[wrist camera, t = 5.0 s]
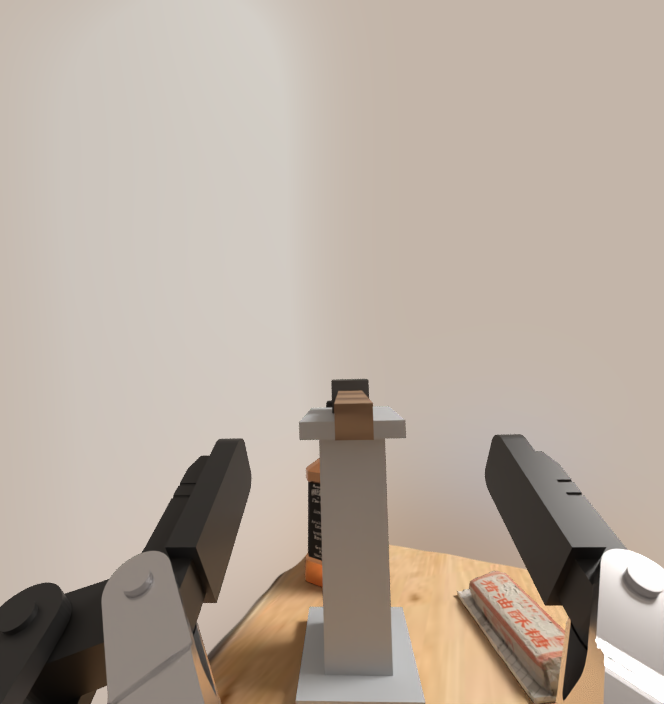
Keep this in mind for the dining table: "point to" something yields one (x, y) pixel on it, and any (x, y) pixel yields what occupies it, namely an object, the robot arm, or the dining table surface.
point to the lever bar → (352, 410)
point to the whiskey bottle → (314, 523)
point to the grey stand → (355, 576)
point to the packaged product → (518, 632)
